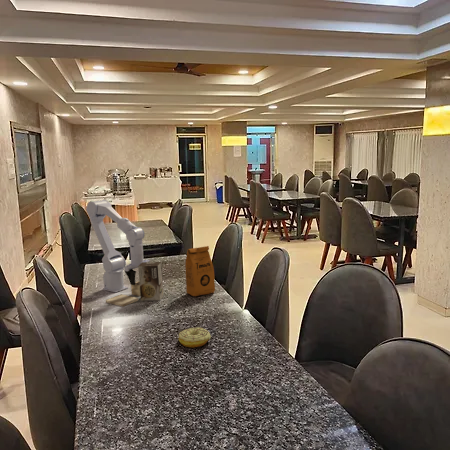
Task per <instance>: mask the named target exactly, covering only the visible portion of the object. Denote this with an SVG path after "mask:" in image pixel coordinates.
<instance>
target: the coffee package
mask: <svg viewBox="0 0 450 450" xmlns="http://www.w3.org/2000/svg"><path fill="white" fill-rule="evenodd" d="M209 246H210V245H207V246H205V245H204V246H201V247H200V246H199V247H193V248H188V249H187V251H186V256H185V266H184V267H185V285H186V286H185V289H186V294H189V295H190V296H193V297H198V296H203V295H209V294H214V293H215V291H216V286H215V285H216V282H215V269H214V268H215V267H214V264H213V261H212V259H211V255H210V251H209V250H210V247H209Z"/></svg>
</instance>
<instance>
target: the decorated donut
mask: <svg viewBox="0 0 450 450" xmlns="http://www.w3.org/2000/svg"><path fill="white" fill-rule="evenodd" d="M211 338H212V335H211V334H210V332H209V331H208V330H207V329H205V328H203V327H200V326H199V327H188V328H187V329H184V330H181V331H180V332H179V333H178V341H179V343H180V344H181V345H183V347H186V348H199V347H202V346H205V345H206V344H207V343H208V341H209V340H210V339H211Z"/></svg>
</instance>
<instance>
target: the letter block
mask: <svg viewBox="0 0 450 450" xmlns="http://www.w3.org/2000/svg"><path fill="white" fill-rule="evenodd" d="M130 287H131V288H130V289H131V295H134V296H139V297H141V295H140V282H139V281H135V285H131V284H130Z"/></svg>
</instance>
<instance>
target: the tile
mask: <svg viewBox="0 0 450 450" xmlns="http://www.w3.org/2000/svg"><path fill="white" fill-rule="evenodd" d="M135 302H139V298H138V297H135V296H130V295H125V294H122V293H120V294H119V295H118V294H117V295H116V296H113V297H111V298H107V299H106V300H105V303H107V304H110V305H115V306H117V307H118V306H120V307H123V308H124V307H126V306H128V305H131V304H133V303H135Z"/></svg>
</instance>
